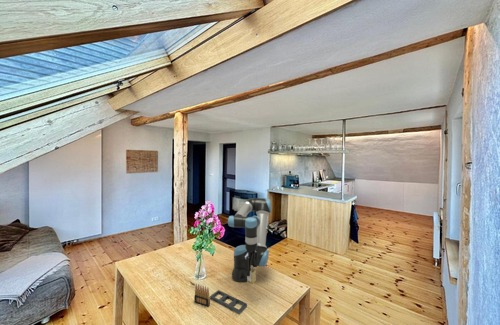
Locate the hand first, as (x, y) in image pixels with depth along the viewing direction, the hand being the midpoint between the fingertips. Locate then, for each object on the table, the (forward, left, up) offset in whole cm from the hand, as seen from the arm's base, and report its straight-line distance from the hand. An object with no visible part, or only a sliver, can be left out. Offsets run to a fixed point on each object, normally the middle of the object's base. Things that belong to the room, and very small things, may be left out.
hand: (251, 278), depth 130 cm
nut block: (0, 0, -2) cm, 2 cm away
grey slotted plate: (+10, -11, -15) cm, 21 cm away
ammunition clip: (+20, -24, -15) cm, 35 cm away
